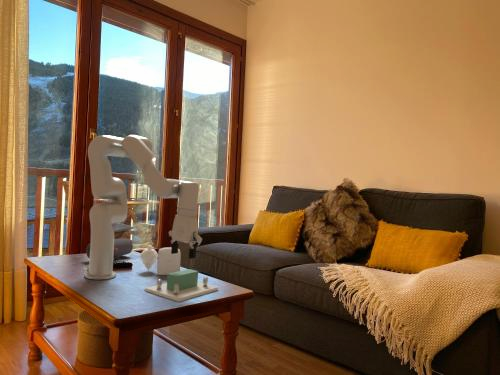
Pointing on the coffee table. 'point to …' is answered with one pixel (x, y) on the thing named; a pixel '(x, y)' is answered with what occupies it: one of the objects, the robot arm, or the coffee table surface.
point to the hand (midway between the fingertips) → (183, 255)
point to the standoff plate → (183, 294)
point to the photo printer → (168, 261)
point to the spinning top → (149, 257)
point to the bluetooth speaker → (117, 248)
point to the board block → (182, 279)
